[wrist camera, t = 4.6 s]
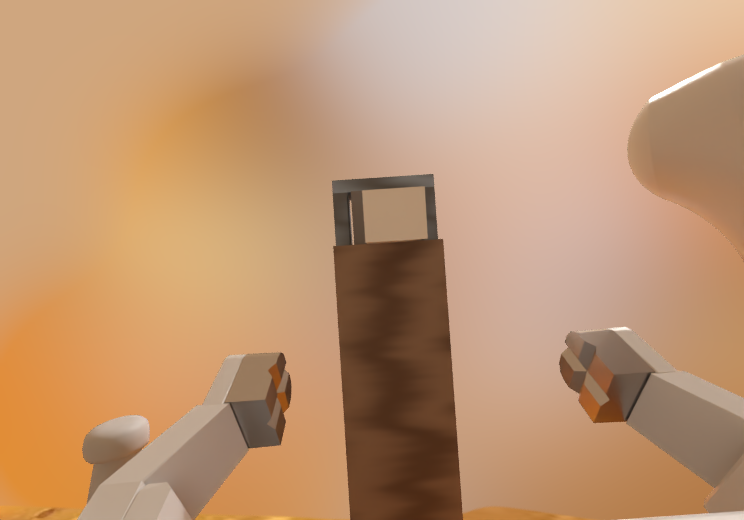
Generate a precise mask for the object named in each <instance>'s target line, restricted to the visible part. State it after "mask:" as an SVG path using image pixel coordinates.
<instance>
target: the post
mask: <svg viewBox="0 0 744 520" xmlns="http://www.w3.org/2000/svg"><path fill="white" fill-rule="evenodd" d="M421 186H425V200H426V217H427V234H428V239H421V241H406V242H390V243H375V244H360V245H352V234H351V233H352V232H351V216H350V200H351V191H362V190H375V189H390V188H405V187H421ZM332 188H333V203H334V220H335V236H336V246H334V247H333V248H334V262H335V263H334V264H335V280H336V294H337V295H336V296H337V312H338V328H339V344H340V360H341V375H342V392H343V408H344V422H345V438H346V439H345V440H346V456H347V471H348V488H349V504H350V520H463V515H462V502H461V486H460V472H459V458H458V444H457V430H456V416H455V402H454V389H453V373H452V360H451V345H450V331H449V317H448V303H447V289H446V276H445V262H444V246H443V239H438V236H437V235H438V234H437V220H436V206H435V192H434V177H433V174H427V175H412V176H398V177H383V178H367V179H352V180H337V181H332Z"/></svg>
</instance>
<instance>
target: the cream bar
mask: <svg viewBox="0 0 744 520" xmlns="http://www.w3.org/2000/svg"><path fill="white" fill-rule="evenodd" d="M351 201H352V216H353V229H354V230H353V231H354V245H360V244H375V243H390V242H406V241H421V239H428V234H427V217H426V200H425V186H421V187H405V188H390V189H375V190H362V191H351Z"/></svg>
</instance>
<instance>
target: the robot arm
mask: <svg viewBox="0 0 744 520" xmlns="http://www.w3.org/2000/svg"><path fill="white" fill-rule="evenodd" d="M627 150H628V160H629V164H630V167H631V169H632V171H633V174H634V175H635V176H636V178H637V179H638V181H639V182H640V183H641V184H642V185H643V186H644V187H645V188H646V189H648V190H649V191H650V192H652V193H653V194H655V195H657V196H659V197H661V198H662V199H665V200H668V201H671V202H673V203H676V204H678V205H680V206H682V207H685V208H687V209H689V210H690V211H692V212H694V213H696V214H697V215H699V216H700V217H702V218H704V219H705V220H706V221H708V222H709V223H710V224H712V225H713V226H714V227H715V228H716V229H718V230H719V231H720V232H721V233H722V234H723V235H724V236H725V237H726V238H727V239H728V240H729V241H730V243H731V244H732V245H733V246H734V247H735V249H736V250H737V252H738V253H739V255H740V256H741V258H742V259H743V261H744V55H741V56H739V57H736V58H733V59H730V60H727V61H724V62H721V63H719V64H717V65H715V66H713V67H711V68H709V69H707V70H705V71H703V72H701V73H699V74H697V75H695V76H693V77H691V78H689V79H686V80H684V81H682V82H681V83H679V84H677V85H675V86H673V87H671V88H669V89H667V90H666V91H663V92H662V93H660V94H658V95H656V96H654V97H652V98H651V99H650V100H649V101H648V102H647V103H646V105H645V106H644V107H643V109H642V110H641V112H640V113H639V114H638V116H637V118H636V120H635V122H634V124H633V126H632V129H631V132H630V135H629V140H628V149H627ZM565 343H566V345H567V346H568V348H567V349H566V350H565V351H564V352H563V353H562V354H561V358H560V362H559V365H560V372H561V374H562V377H563V379H564V381H565V382H566V384H567V385H568V387H569V388H571V389H573V390H574V391H576V392H578V393H579V400H578V401H579V403H580V404H581V406H582V407H583V409H584V410H585V411H586V412H587V414H588V416H589V417H590V419H591V420H592V421H593V423H603V422H625V421H627V424H628V425H629V426H631V427H632V428H633V429H635V430H636V431H637V432H639V433H640V434H642V435H643V436H645V437H646V438H647V439H648V440H650V441H651V442H653V443H654V444H655V445H657V446H658V447H659V448H661V449H662V450H663V451H665V452H666V453H667V454H669V455H670V456H672V457H673V458H674V459H676V460H677V461H678V462H680V463H681V464H682V465H684V466H685V467H687V468H688V469H689V470H691V471H692V472H694V473H695V474H696V475H697V476H699V477H700V478H702V479H703V480H704V481H706V482H707V483H708V484H710V485H711V486H712V487H714V490H713V491H712V492H711V493H710V494H709V496H708V497H707V498H706V499H705V502H704V507H705V508H706V510H707V511H708V512H709V513H706V514H692V515H678V516H663V517H649V518H635V519H621V520H744V398H742V397H740V396H738V395H736V394H734V393H732V392H729V391H727V390H725V389H723V388H721V387H718V386H716V385H714V384H712V383H710V382H707V381H705V380H703V379H701V378H698V377H696V376H694V375H692V374H690V373H688V372H685V371H677V370H676V369H675V368H674V367H673V366H672V365H671V364H669V363H668V362H667V361H666V360H665V359H664V358H663V357H662V356H661V355H659V354H658V353H657V352H656V351H655V350H654V349H653V348H652V347H651V346H649V345H648V344H647V343H646V342H645V341H644V340H643V339H642V338H641V337H639V336H638V335H637V334H636V333H635V332H634V331H633V330H631V329H629V328H627V327H620V328H609V329H596V330H584V331H573V332H570V333H569V334H568V335H567V337H566V340H565ZM285 364H286V360H285V357H284V354H283V353H260V354H246V355H229V356H228V357H227V358H225V360H224V362H223V364H222V366H221V368H220V370H219V372H218V374H217V376H216V378H215V380H214V382H213V384H212V386H211V388H210V390H209V392H208V394H207V396H206V398H205V400H204V403H203V404H202V405H198V406H195V407H194V408H193V409H192V410H191V411H189V412H188V413H187V414H186V415H185V416H183V417H182V418H181V419H180V420H178V421H177V422H176V423H175V424H173V425H172V426H171V427H170V428H169V429H167V430H166V431H165V432H164V433H162V434H161V435H160V436H159V437H158V438H156V439H155V440H154V441H153V442H151V443H150V444H149V445H148V446H147V447H145V448H144V449H143V450H142V451H140V452H139V453H138V454H137V455H136V456H134V457H133V458H132V459H131V460H130V461H128V462H127V463H126V464H125V465H123V466H122V467H121V468H120V469H119V470H117V471H116V472H115V473H114V474H112V475H111V476H110V477H109V478H108V479H106V480H105V481H104V482H103V483H101V484H100V485H99V487H98V488H97V490H96V491H95V493H94V494H93V496H92V497H91V499H90V500H89V502H88V504H87V505H86V507H85V508H84V510H83V511H82V513H81V514H80V516H79V517H78V519H77V520H194V519H195V518H196V517H197V515H198V514H199V513H200V512H201V510H202V509H203V508H204V506H205V505H206V504H207V503H208V501H209V500H210V499H211V498H212V496H213V495H214V494H215V493H216V491H217V490H218V489H219V488H220V486H221V485H222V484H223V482H224V481H225V480H226V479H227V477H228V476H229V475H230V474H231V472H232V471H233V470H234V469H235V467H236V466H237V465H238V463H239V462H240V461H241V460H242V458H243V457H244V456H245V454H246V453H247V452H248V448H258V447H268V446H277V445H281V441H282V436H283V432H284V428H285V423H286V421H285V418H284V414H283V413H284V412H285V411H286V410H287V409H288V408H289V404H290V399H291V380H290V375H289V373H288V372H287V371H286V370H284V368H285Z"/></svg>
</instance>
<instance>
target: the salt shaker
mask: <svg viewBox="0 0 744 520" xmlns="http://www.w3.org/2000/svg"><path fill="white" fill-rule="evenodd" d="M148 442H149V423H148V420H147V419H146V418H144V417H142V416H140V415H130V416H124V417H119V418H116V419H112V420H109V421H107V422H104V423H102V424H100V425H98V426H96V427H95V428H93V429H92V430H91V431H90V432H89V433H88V434H87V435H86V437H85V439H84V443H83V448H82V449H83V458H84V459H85V461H86V462H88V463H90V464H94V466H93V471H92V477H91V483H90V489H89V494H88V500H87V504H88V502H89V500H90V499H91V497H92V496H93V494H94V493H95V491H96V490H97V488H98V487H99V485H100V484H101V483H103V482H104V481H105V480H106V479H108V478H109V477H110V476H111V475H112V474H114V473H115V472H116V471H117V470H119V469H120V468H121V467H122V466H123V465H125V464H126V463H127V462H128V461H130V460H131V459H132V458H133V457H134V456H136V455H137V454H138V453H139V452H140V451H142V448H143V447H144V446H145V445H146V444H147V443H148Z"/></svg>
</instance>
